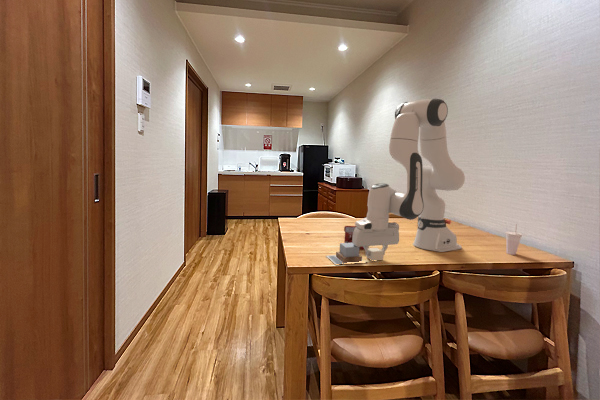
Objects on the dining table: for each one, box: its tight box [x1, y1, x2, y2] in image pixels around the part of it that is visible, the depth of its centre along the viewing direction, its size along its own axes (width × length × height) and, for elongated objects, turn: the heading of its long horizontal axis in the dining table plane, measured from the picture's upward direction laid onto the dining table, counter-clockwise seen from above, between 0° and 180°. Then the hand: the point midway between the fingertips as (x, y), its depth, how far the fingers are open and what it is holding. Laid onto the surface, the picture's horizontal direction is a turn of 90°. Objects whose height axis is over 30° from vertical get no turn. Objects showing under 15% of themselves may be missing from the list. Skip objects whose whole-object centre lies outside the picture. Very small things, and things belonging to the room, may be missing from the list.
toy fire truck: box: [343, 225, 365, 251], centre depth 149 cm, size 7×12×10 cm, turn 90°
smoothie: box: [505, 224, 523, 256], centre depth 147 cm, size 6×6×14 cm
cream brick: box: [365, 247, 385, 261], centre depth 134 cm, size 5×5×4 cm
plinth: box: [335, 251, 363, 263], centre depth 133 cm, size 8×8×2 cm
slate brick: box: [339, 242, 360, 257], centre depth 132 cm, size 6×6×4 cm
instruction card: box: [325, 254, 344, 265], centre depth 133 cm, size 14×11×1 cm
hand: (374, 255), depth 134 cm, fingers closed on cream brick, 5 cm apart
